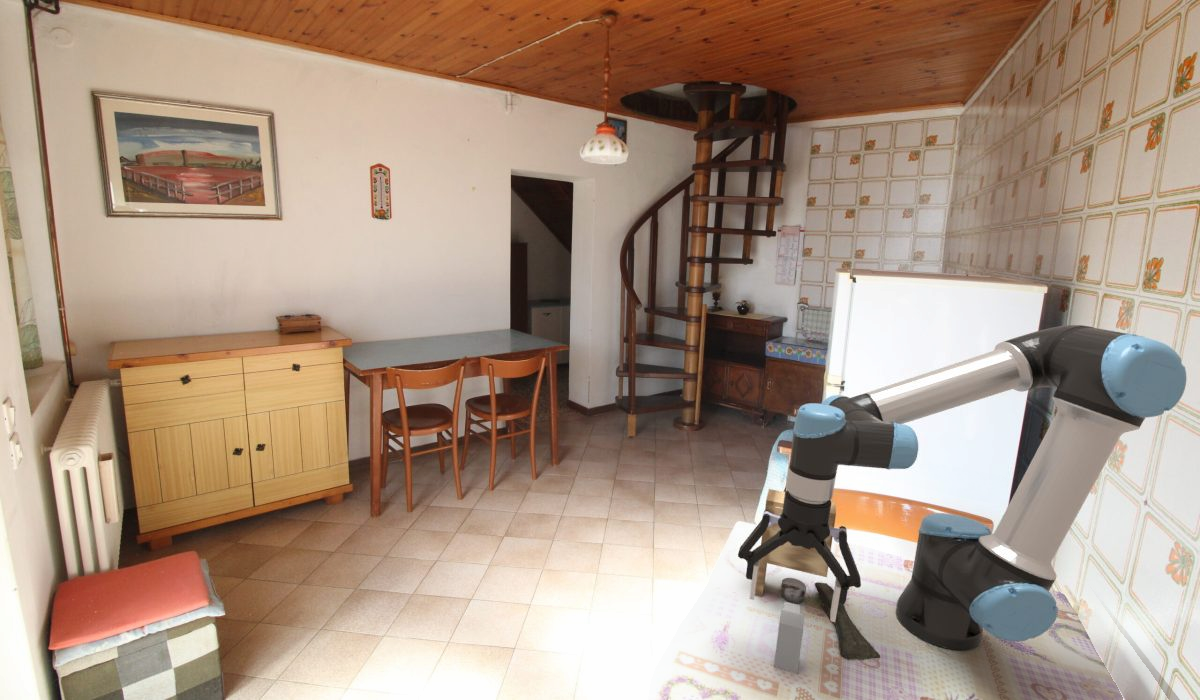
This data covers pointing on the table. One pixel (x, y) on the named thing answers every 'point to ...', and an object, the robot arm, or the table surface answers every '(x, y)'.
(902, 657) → the table surface
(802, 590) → the grey short cylinder
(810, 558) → the wall cabinet
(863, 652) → the tool
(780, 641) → the gray stepped block
